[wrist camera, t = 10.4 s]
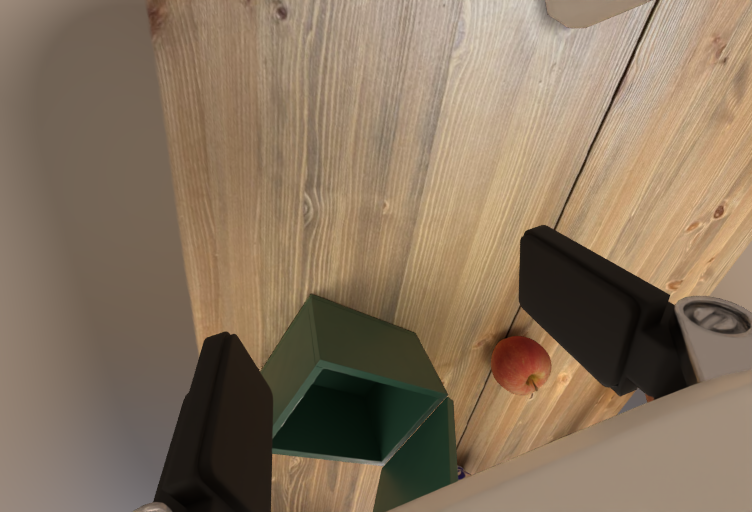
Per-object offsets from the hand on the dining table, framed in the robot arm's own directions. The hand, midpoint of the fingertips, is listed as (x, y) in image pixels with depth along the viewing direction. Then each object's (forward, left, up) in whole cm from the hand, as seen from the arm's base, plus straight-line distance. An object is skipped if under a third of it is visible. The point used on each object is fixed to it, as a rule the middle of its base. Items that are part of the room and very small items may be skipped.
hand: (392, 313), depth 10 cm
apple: (+27, -28, -22) cm, 45 cm away
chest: (+2, -24, -22) cm, 33 cm away
